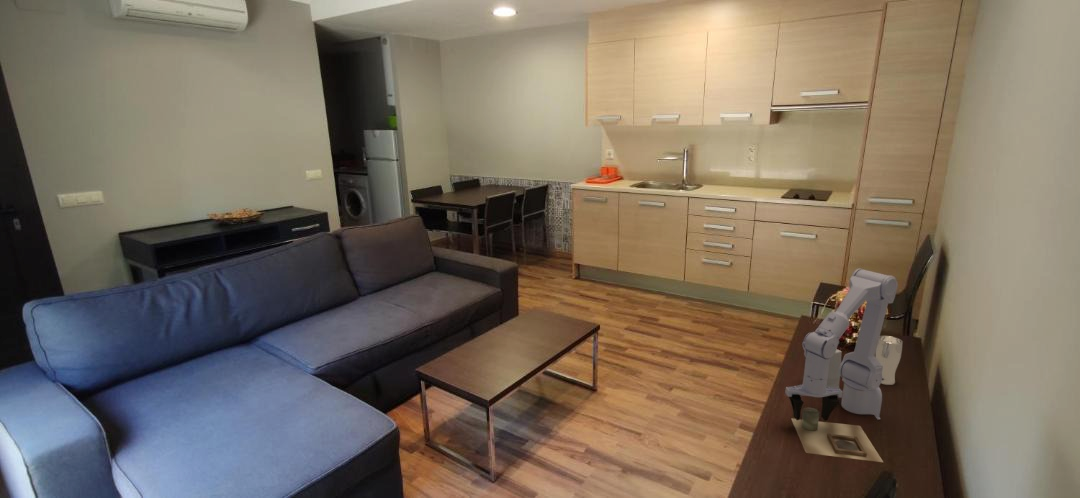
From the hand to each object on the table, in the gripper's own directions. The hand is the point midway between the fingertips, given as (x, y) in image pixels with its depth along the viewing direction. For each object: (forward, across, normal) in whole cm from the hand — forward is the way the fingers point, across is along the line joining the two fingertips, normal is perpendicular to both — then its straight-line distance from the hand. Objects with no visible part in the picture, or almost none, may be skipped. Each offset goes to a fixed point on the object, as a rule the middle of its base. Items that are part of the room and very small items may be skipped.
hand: (810, 418), depth 138 cm
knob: (+3, 0, 0) cm, 3 cm away
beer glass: (+4, -38, -29) cm, 48 cm away
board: (+4, -4, +5) cm, 8 cm away
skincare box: (+4, -14, -23) cm, 28 cm away
